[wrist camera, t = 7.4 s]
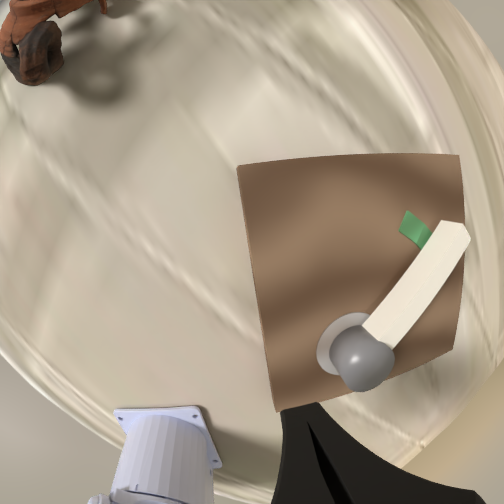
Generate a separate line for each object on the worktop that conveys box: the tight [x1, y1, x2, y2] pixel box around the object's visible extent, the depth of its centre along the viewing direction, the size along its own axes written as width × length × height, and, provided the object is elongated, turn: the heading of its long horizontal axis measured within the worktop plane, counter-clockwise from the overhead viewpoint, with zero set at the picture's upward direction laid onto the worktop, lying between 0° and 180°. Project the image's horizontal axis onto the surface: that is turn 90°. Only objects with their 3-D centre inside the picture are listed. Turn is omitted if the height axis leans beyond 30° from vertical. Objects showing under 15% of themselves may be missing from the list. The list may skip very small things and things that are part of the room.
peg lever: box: [329, 220, 471, 392], centre depth 16 cm, size 13×4×3 cm, turn 139°
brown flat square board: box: [237, 153, 465, 412], centre depth 18 cm, size 18×18×2 cm
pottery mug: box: [0, 0, 107, 85], centre depth 11 cm, size 12×10×8 cm
